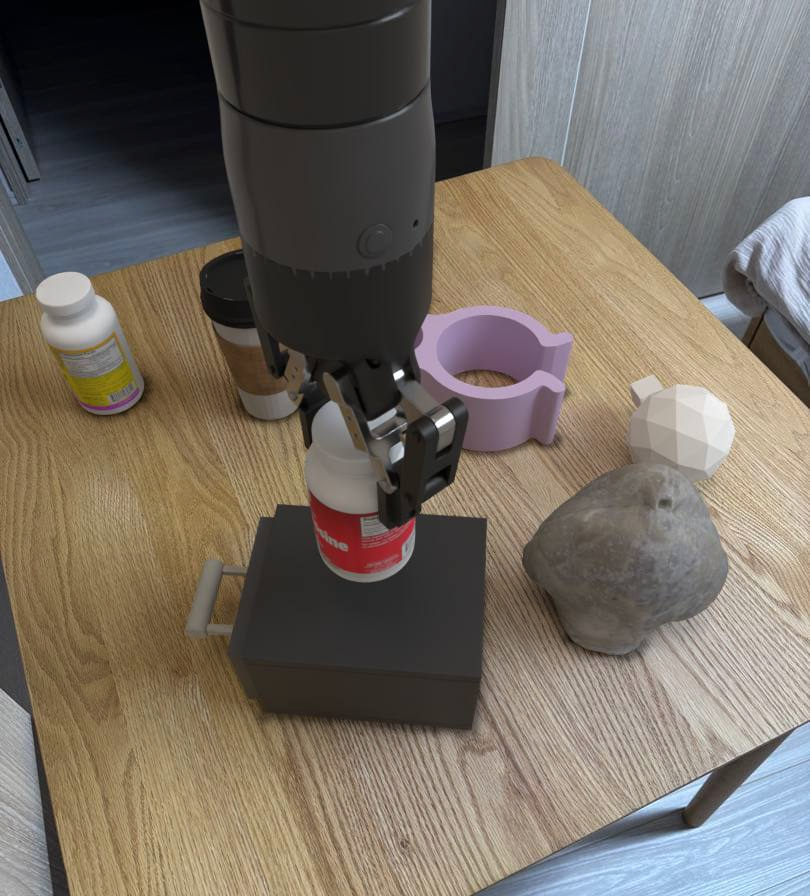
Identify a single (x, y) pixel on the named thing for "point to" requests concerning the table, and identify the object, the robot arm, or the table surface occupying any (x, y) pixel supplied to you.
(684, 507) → the decorative stone
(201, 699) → the table surface
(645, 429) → the perfume bottle
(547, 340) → the clip
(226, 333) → the coffee cup
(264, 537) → the dark brown drawer
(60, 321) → the supplement bottle
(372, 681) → the dark grey drawer box
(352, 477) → the pill bottle
